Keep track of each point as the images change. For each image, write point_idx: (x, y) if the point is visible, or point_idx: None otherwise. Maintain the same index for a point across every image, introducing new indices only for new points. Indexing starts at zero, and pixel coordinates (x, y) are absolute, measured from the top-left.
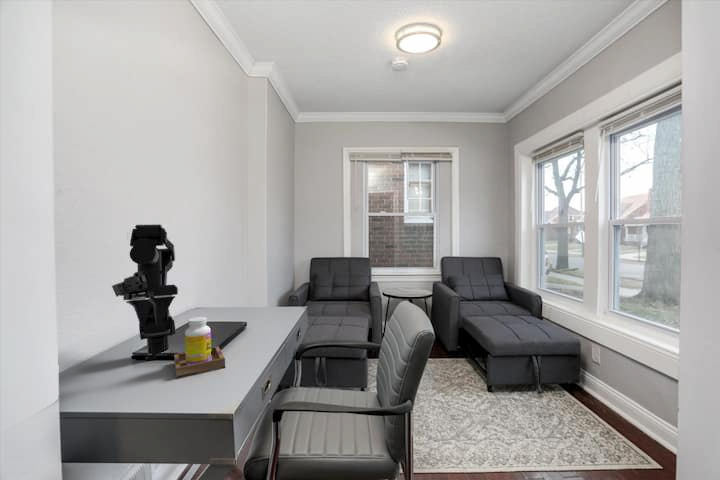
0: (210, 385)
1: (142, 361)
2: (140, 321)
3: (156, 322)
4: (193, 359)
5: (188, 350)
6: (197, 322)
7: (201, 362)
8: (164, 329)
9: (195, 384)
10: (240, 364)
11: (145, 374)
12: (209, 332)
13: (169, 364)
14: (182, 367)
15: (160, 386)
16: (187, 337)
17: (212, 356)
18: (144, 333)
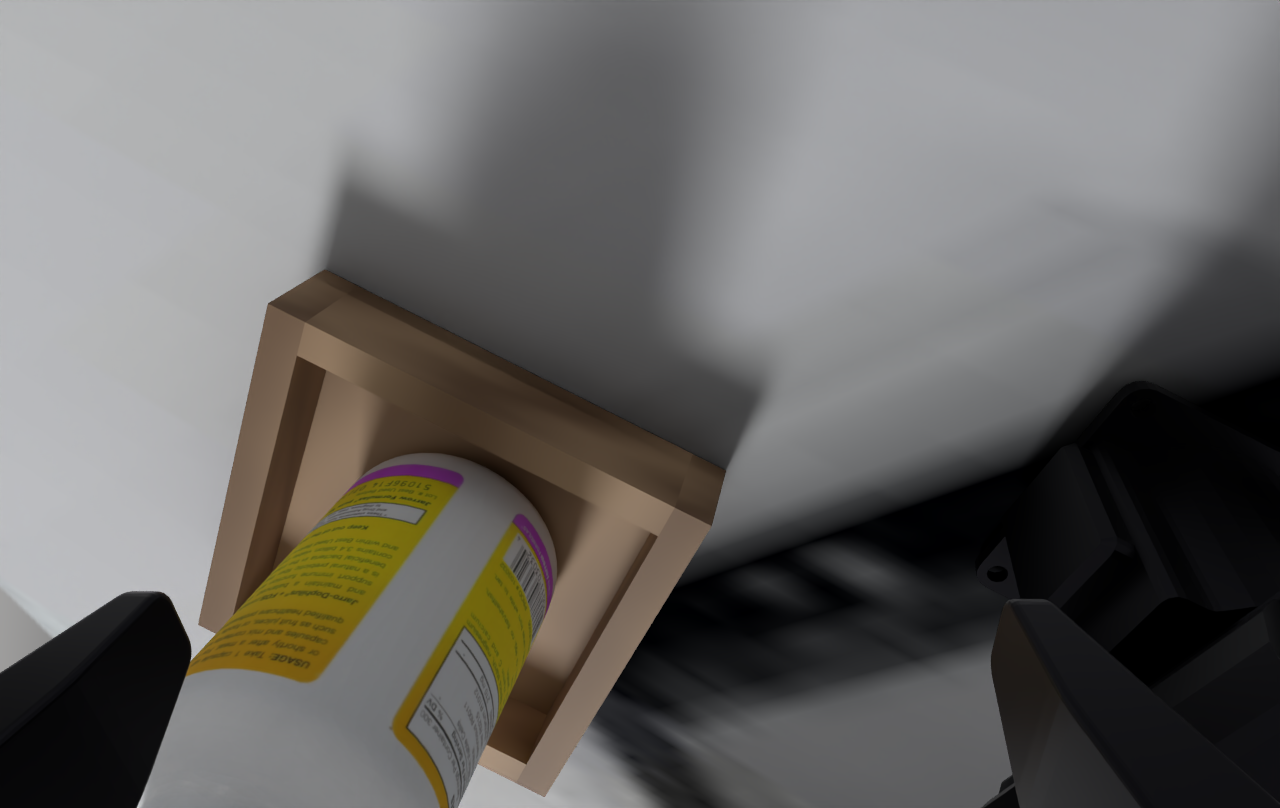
0: (9, 329)
1: (1172, 346)
2: (1031, 655)
3: (116, 608)
4: (340, 502)
5: (335, 546)
6: None
7: (253, 499)
8: (997, 798)
9: (98, 283)
10: None
11: (701, 161)
12: None
13: (743, 430)
14: (261, 354)
15: (263, 97)
16: (251, 657)
17: None
18: (1268, 603)
